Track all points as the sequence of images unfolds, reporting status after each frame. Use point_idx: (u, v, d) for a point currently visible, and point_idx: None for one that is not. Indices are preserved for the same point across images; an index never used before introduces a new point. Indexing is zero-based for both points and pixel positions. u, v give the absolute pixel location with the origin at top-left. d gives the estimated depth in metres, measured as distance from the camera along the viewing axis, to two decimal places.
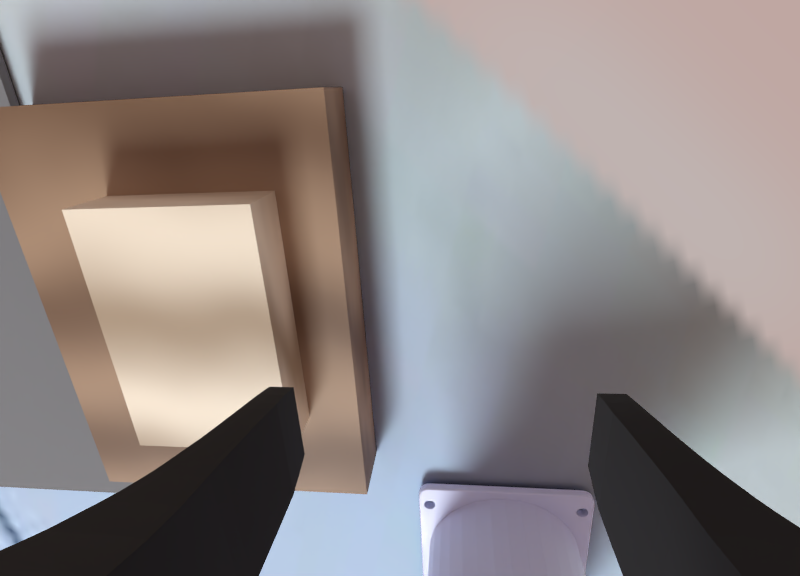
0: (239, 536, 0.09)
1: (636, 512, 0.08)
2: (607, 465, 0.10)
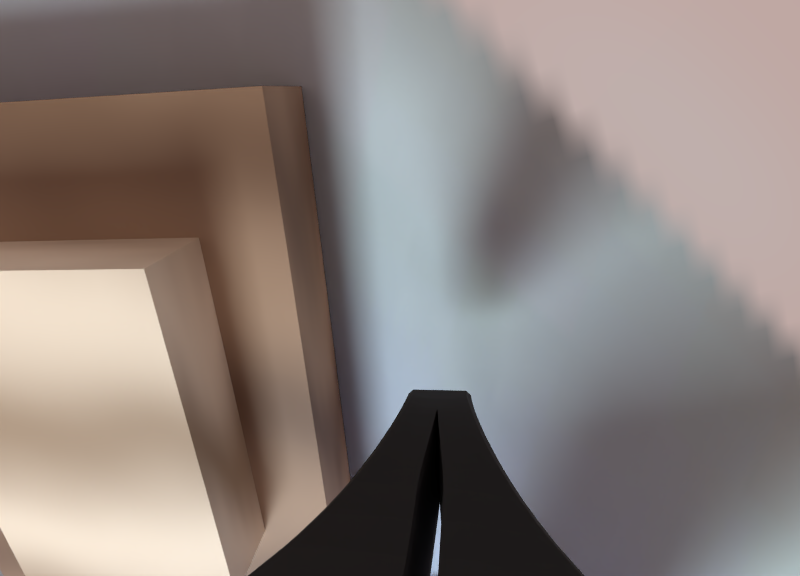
0: (424, 548, 0.08)
1: (442, 502, 0.09)
2: (439, 458, 0.10)
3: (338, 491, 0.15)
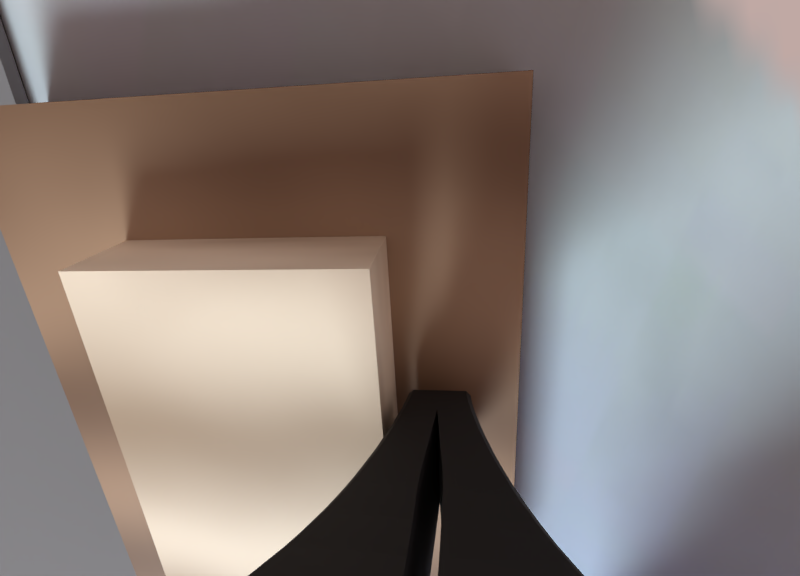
0: (424, 548, 0.08)
1: None
2: (439, 458, 0.10)
3: None
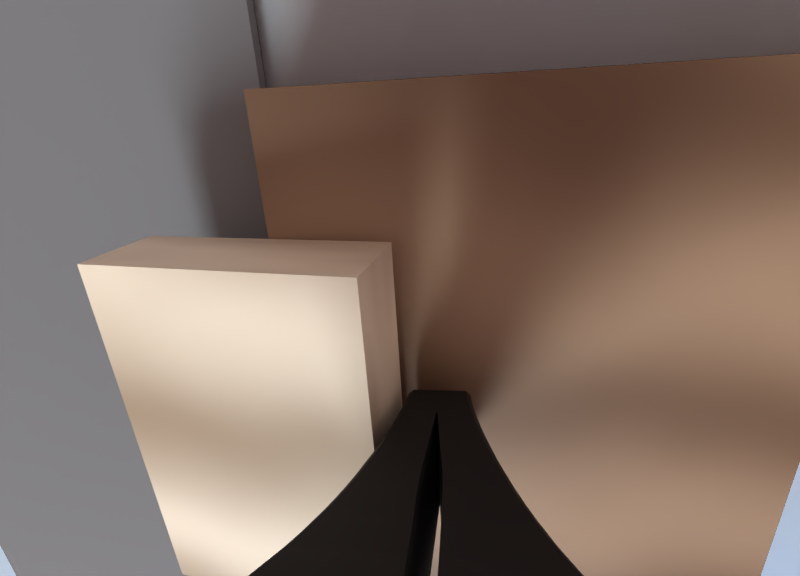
0: (424, 548, 0.08)
1: None
2: (438, 458, 0.10)
3: None
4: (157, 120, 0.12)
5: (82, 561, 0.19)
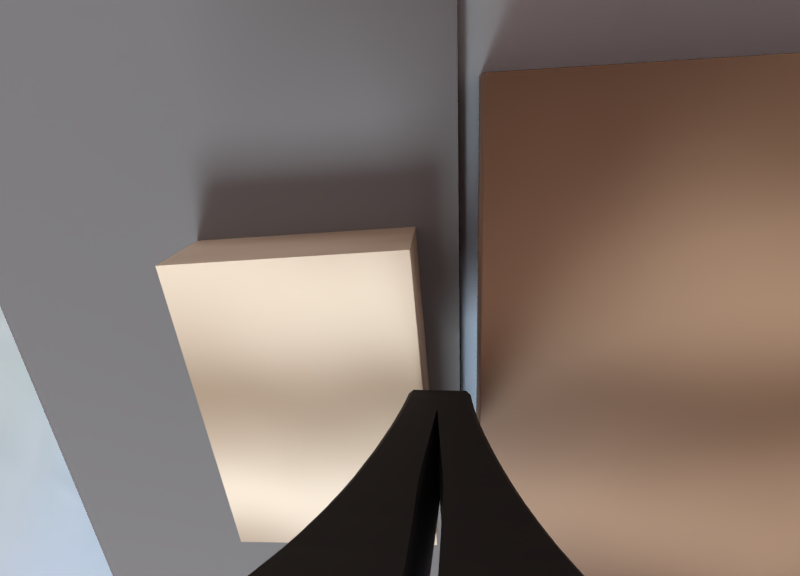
0: (424, 548, 0.08)
1: (442, 502, 0.09)
2: (439, 458, 0.10)
3: None
4: (339, 109, 0.11)
5: (189, 568, 0.18)
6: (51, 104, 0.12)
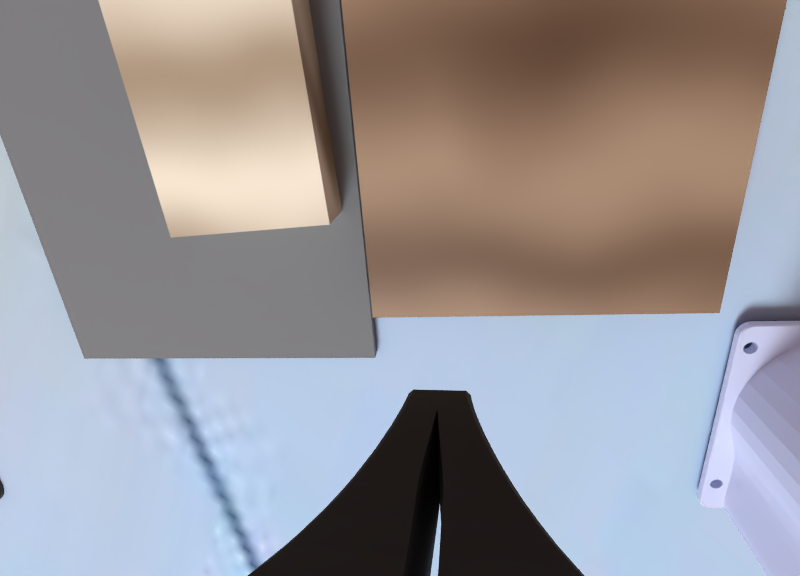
0: (424, 548, 0.08)
1: (442, 502, 0.09)
2: (439, 458, 0.10)
3: None
4: None
5: (140, 318, 0.21)
6: None
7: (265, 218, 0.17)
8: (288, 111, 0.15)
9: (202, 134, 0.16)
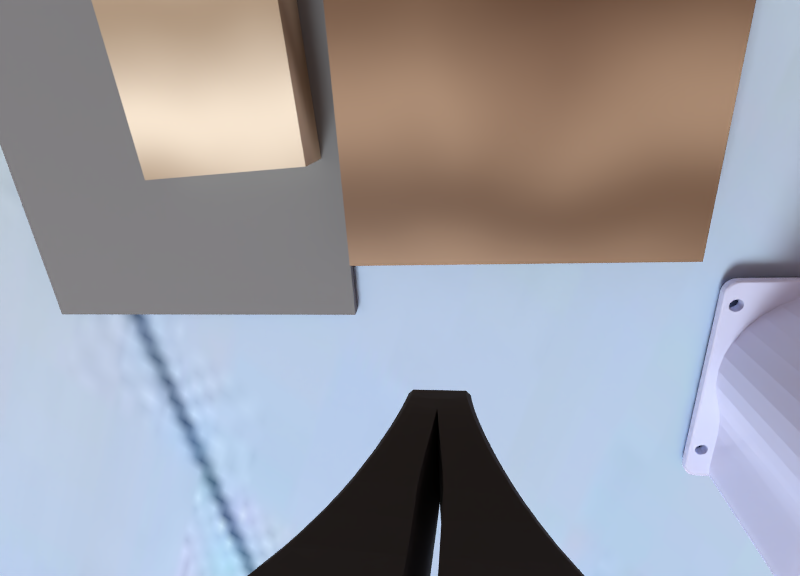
0: (424, 548, 0.08)
1: (442, 502, 0.09)
2: (439, 459, 0.10)
3: None
4: None
5: (117, 271, 0.21)
6: None
7: (240, 159, 0.16)
8: (263, 45, 0.15)
9: (176, 69, 0.15)
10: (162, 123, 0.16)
